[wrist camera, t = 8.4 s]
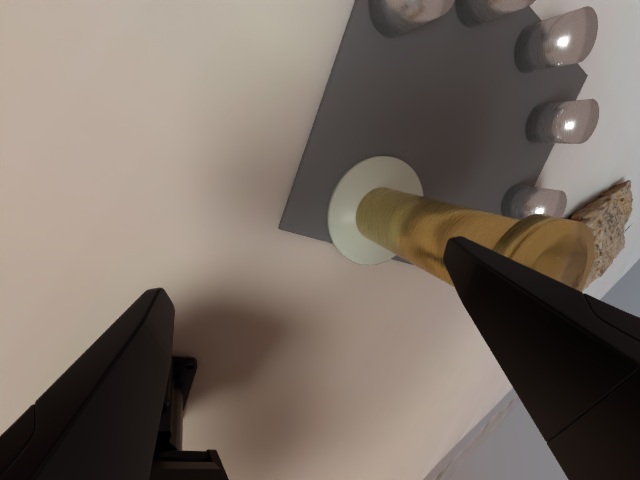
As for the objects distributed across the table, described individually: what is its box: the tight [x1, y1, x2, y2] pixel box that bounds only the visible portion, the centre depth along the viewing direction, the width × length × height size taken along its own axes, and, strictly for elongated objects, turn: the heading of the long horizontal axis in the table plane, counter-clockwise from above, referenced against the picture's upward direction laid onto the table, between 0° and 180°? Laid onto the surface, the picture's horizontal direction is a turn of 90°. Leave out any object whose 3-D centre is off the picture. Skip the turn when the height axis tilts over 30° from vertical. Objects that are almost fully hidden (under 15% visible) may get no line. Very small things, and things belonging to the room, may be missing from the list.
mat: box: [278, 0, 588, 265], centre depth 26 cm, size 24×26×1 cm
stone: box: [569, 180, 633, 291], centre depth 37 cm, size 21×6×10 cm
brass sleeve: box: [356, 187, 595, 292], centre depth 18 cm, size 5×5×13 cm
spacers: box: [368, 0, 599, 220], centre depth 24 cm, size 16×28×4 cm, turn 31°
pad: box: [327, 156, 423, 265], centre depth 24 cm, size 9×9×1 cm
